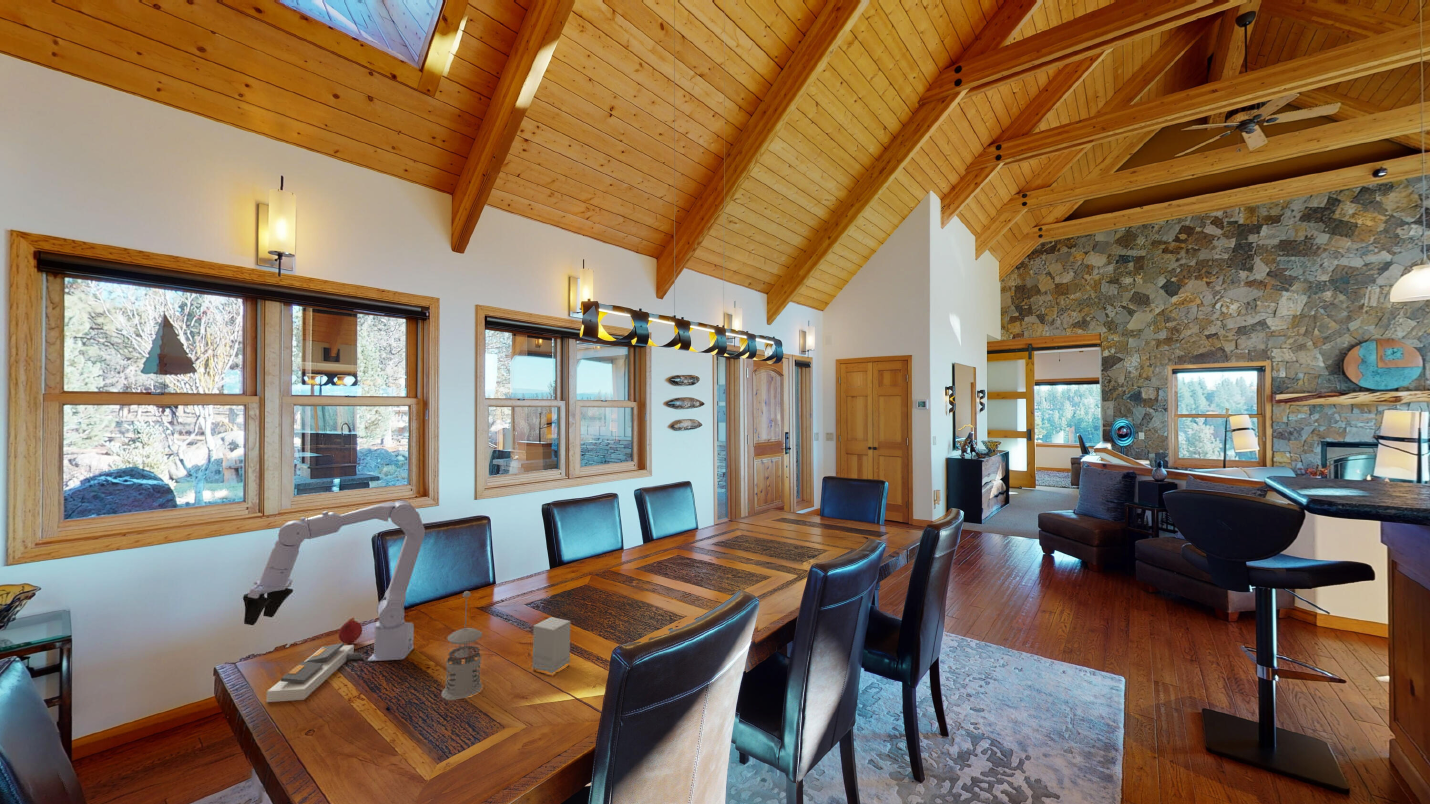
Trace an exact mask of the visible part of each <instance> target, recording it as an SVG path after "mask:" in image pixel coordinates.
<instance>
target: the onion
mask: <svg viewBox="0 0 1430 804" xmlns="http://www.w3.org/2000/svg"><path fill="white" fill-rule="evenodd" d="M362 634H363V627H362V625H361V623H360V622H359V621H357V620H355V617H350V618H349V619H348V620H347V621H346V622H345V623H344V624H343V625H342V626H341V627H340V629H339V631H338V638H339V640H340V642H341V643H344V645H354V643H355V642H356V641H358V639H359V638H360V637H361V636H362Z"/></svg>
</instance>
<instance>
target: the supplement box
mask: <svg viewBox="0 0 1430 804" xmlns="http://www.w3.org/2000/svg"><path fill="white" fill-rule="evenodd" d="M532 640H533V641H532V644H533V645H532V646H533V647H532V669H533V668H535V669H538V670H543V671H548V672H550V673H553V672H555V671H556V670H558V669H559V668H561V667H562V666H564V665H565V664H567V663H569V664H570V661H571V660H570V657H571V656H570V654H571V653H570V652H571V651H570V648H571V620H567V619H562V618H558V617H553V616H550V617H548V618H546V619H544V620H542V621H540V622H539V623H536V624H534V625H533V639H532Z"/></svg>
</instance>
